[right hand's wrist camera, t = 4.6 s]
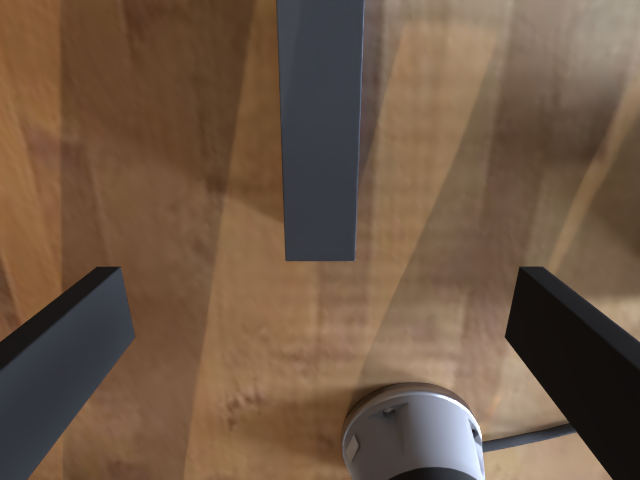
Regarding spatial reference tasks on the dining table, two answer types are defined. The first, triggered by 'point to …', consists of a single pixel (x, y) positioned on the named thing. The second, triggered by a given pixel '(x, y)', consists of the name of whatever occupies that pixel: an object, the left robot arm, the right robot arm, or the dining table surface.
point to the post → (320, 125)
